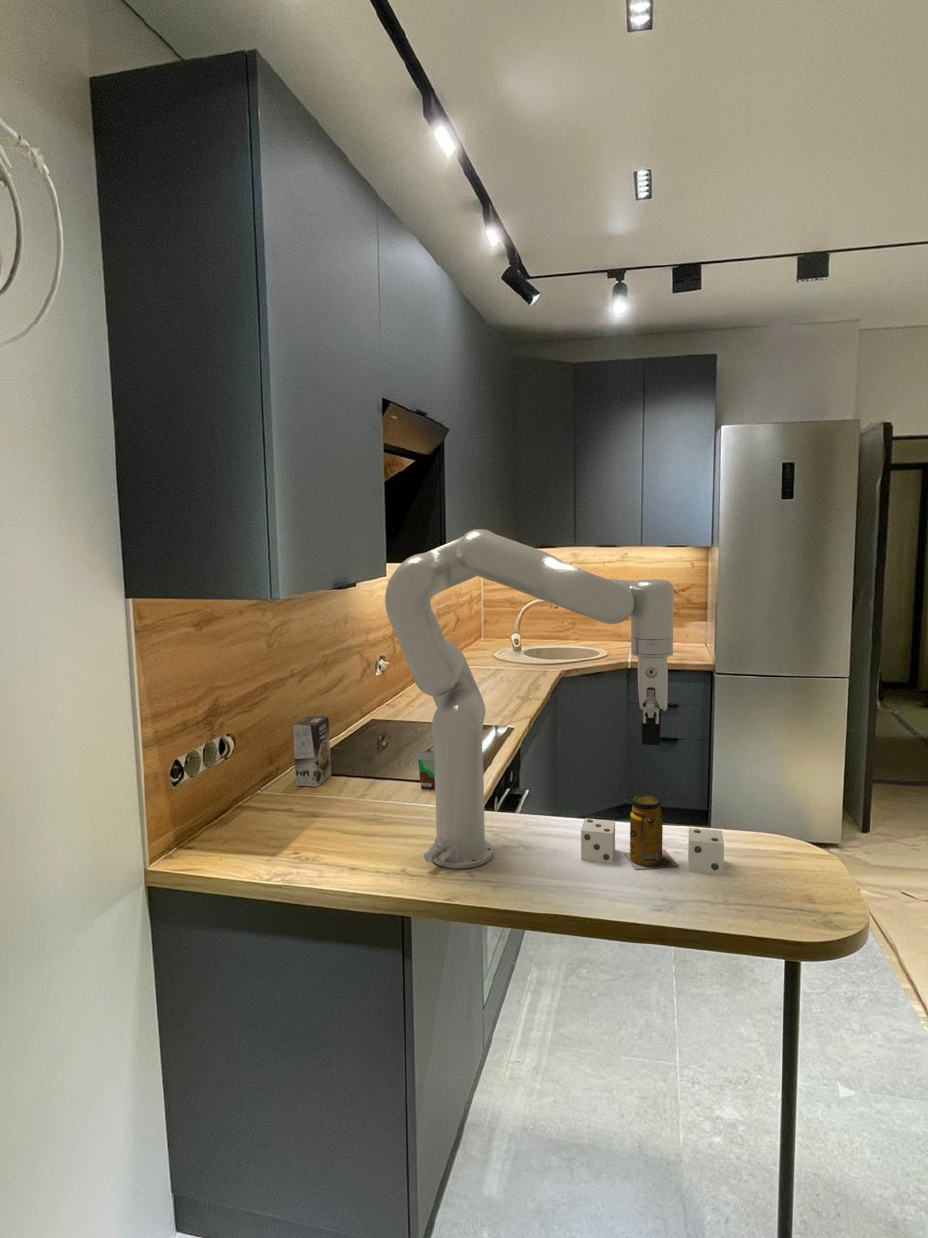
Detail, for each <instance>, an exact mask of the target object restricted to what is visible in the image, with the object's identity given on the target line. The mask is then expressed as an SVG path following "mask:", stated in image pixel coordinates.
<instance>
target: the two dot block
mask: <svg viewBox="0 0 928 1238" xmlns="http://www.w3.org/2000/svg"><path fill="white" fill-rule="evenodd" d="M724 841H725V840H724V836H723V830H719V829H707V828H696V827H695V828H694V827H688V845H687V846H688V850H687V851H688V852H687V853H688V855H687V857H688V872H691V873H692V872H693V873H704V874H711V875H712V874H713V875H722V876H723V875H724V864H725V861H724V857H725V842H724Z"/></svg>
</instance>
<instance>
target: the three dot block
mask: <svg viewBox="0 0 928 1238" xmlns="http://www.w3.org/2000/svg"><path fill="white" fill-rule="evenodd" d="M615 852H616V821H615V820H605V819H595V818H584V819H583V822H582V826H581V829H580V856H581V857H580V861H589V862H590V861H591V862H599V863H610V864H613V863H614V857H615Z"/></svg>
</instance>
